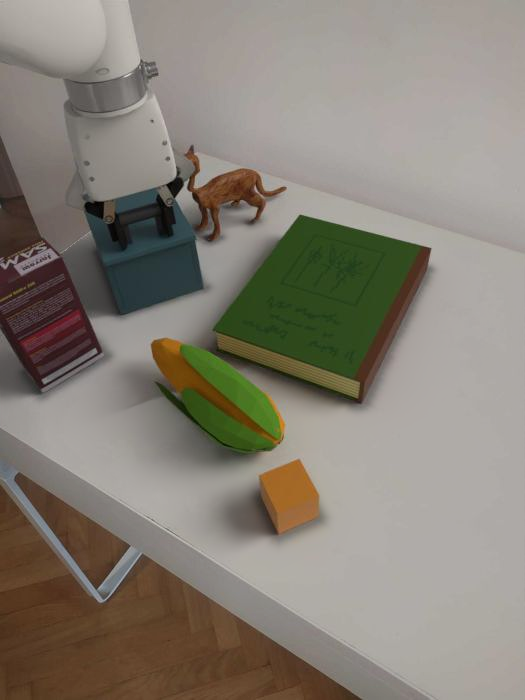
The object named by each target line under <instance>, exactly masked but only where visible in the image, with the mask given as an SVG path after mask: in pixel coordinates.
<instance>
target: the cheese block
mask: <svg viewBox="0 0 525 700" xmlns="http://www.w3.org/2000/svg"><path fill="white" fill-rule="evenodd" d="M258 480H259V488H260V497H261V500H262V502H263V504H264V507H265V509H266V510H267V513H268V515H269V517H270V519H271V521H272V524H273V526H274V528H275V530H276V532H277V534H278V535H280V534H283V533H284V532H287V531H289V530H291V529H294V528H296V527H298V526H301V525H303V524H306V523H308V522H310V521H312V520H314V519H317V518H319V516H320V515H319V513H320V512H319V510H320V493H319V492H318V490H317V489H316V486H315V484H314V483H313V481H312V479H311V478H310V476H309V474H308V472H307V470H306V468H305V466H304V464H303V462H302V461H301V459H300V458H298V459H295V460H292V461H289V462H288V463H285V464H282V465H280V466H277V467H275V468H273V469H270V470H268V471H266V472H263V473H261V474H258Z"/></svg>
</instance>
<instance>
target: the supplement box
mask: <svg viewBox="0 0 525 700" xmlns="http://www.w3.org/2000/svg"><path fill="white" fill-rule="evenodd" d="M0 331H1V333H2V334H3V336H4V337H5V339H6V341H7V343H8V345H9V346H10V348H11V350H12V351H13V353H14V354H15V356H16V358H17V359H18V361H19V363H20V364H21V366H22V368H23V370H24V371H25V372H26V374H27V375H28V376H29V377H30V379H31V380H32V381H33V382H34V384H35V385H36V386H37V388H38V389H39V390H40V393H42V394H44V393H46V392H48V391H49V390H51V389H52V388H54V387H55V386H58V385H59V384H60V383H62V382H64V381H66V380H67V379H69V378H71V377H73V376H74V375H76V374H77V373H79V372H80V371H82V370H84V369H86V368H87V367H89V366H91V365H92V364H94V363H96V362H97V361H99V360H101V359H103V358H104V357H105V353H104V352H103V349H102V346H101V343H100V341H99V339H98V336H97V334H96V331H95V330H94V326H93V325H92V323H91V320H90V318H89V314H88V312H87V310H86V309H85V306H84V304H83V301H82V298H81V297H80V295H79V292H78V290H77V287H76V285H75V283H74V281H73V279H72V276H71V273H70V271H69V269H68V267H67V264H66V262H65V260H64V256H63V255H62V254H61V253H60V252H59V251H58V250H56V249H55V248H54V246H53V245H51V244H50V243H49V241H48V240H46V238H44V236H43V237H40V238H37V239H36V240H34V241H31V242H30V243H27V244H25V245H23V246H21V247H19V248H17V249H15V250H13V251H10V252H9V253H7V254H4V255H2V256H1V257H0Z"/></svg>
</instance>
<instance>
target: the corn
mask: <svg viewBox="0 0 525 700" xmlns="http://www.w3.org/2000/svg"><path fill="white" fill-rule="evenodd" d="M150 349H151V354H152V359H153V361H154V362H155V365H156V366H157V367H158V370H159V371H160V374H161V375H162V376H163V377H164V378H165V379H166V380H167V381H168V383H170V385H171V386H172V387H173V389H175V391H176V392H177V393H178V394H179V395H180V397H181V400H182V401H181V400H180V399H179V398H178V397H177V396H176V395H175V394H174V393H173V392H172V391H171V390H169V388H167V387H166V386H165V385H164V384H162V383H161V382H159V381H156V380H153V382H154V384H155V386H157V388H158V389H159V391H160V392H161V393H162V394H163V396H164V397H165V398H166V399H167V400H168V401H169V402H170V403H171V404H172V405H173V406H174V407H176V408H177V409H178V410H179V411H180V412H181V413H182V414H183V415H184V416H185V417H187V418H188V419H189V421H191V422H192V423H193V424H194V425H195V426H196V427H197V428H198V429H199V430H201V431H202V432H203V433H204V434H205V435H206V436H207V437H208V438H209V439H210V440H212V442H214V443H215V444H218V445H219V446H221V447H223V448H226V449H229V450H232V451H235V452H238V453H240V454H253V453H266V452H272V451H273V450H274V449H275V448H277V446H278V445H280V444H281V443H282V442H283V440H284V438H285V437H284V436H285V435H284V433H285V427H286V423H285V421H284V419H283V417H282V415H281V413H280V411H279V409H278V407H277V405H276V403H275V401H274V399H272V397H271V396H270V394H268V393H267V392H265V391H264V390H262V389H261V388H259V386H258V387H257V386H256V385H255V384H254V383H253V382H251V381H250V380H249V379H248V378H246V376H244V375H243V374H242V373H241V372H239V371H238V370H236V368H234V367H233V366H232V365H231V364H230V363H228V362H227V361H225V360H223V359H221V358H220V357H218V356H217V355H215V354H214V353H212V352H210V351H208V350H206V349H203V348H201V347H198V346H196V345H192V344H187V343H185V342H182V341H179V340H175V339H173V338H169V337H164V338H157V339H154V340H152V342H151V343H150Z"/></svg>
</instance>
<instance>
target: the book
mask: <svg viewBox="0 0 525 700" xmlns="http://www.w3.org/2000/svg"><path fill="white" fill-rule="evenodd" d="M432 249H433V248H432V247H428V246H426V245H421V244H417V243H413V242H409V241H405V240H401V239H397V238H394V237H393V238H392V237H390V236H386V235H383V234H378V233H374V232H370V231H366V230H364V229H363V230H362V229H359V228H355V227H350V226H346V225H343V224H339V223H335V222H331V221H327V220H323V219H319V218H317V217H316V218H315V217H312V216H308V215H304V214H299V215H297V218H296V219H295V220H294V221H293V222H292V224H291V225H290V226H289V228H288V229H287V231H285V233H284V234H283V235H282V237H281V239H280V240H279V241H278V242H277V244H276V245H275V246H274V247H273V249H272V250H271V251H270V252H269V254H268V255H267V257H266V258H265V259H264V261H262V263H261V264H260V265H259V267H258V268H257V269H256V271H255V272H254V273H253V275H252V276H251V277H250V279H249V280H248V281H247V283H246V284H245V285H244V287H243V288H242V289H241V291H239V293H238V294H237V296H236V297H235V298H234V299H233V301H232V302H231V304H230V305H229V306H228V308H227V309H226V310H225V311H224V313H223V314H222V316H221V317H220V318H219V319H218V321H217V322H216V324H215V325H214V326H213V327H212V329H211V330H212V331H213V332H215V337H216V342H217V346H216V348H215V351H217V352H219V353H222V354H225V355H228V356H230V357H233V358H235V359H238V360H241V361H244V362H247V363H249V364H253V365H255V366H258V367H261V368H264V369H265V370H269V371H272V372H275V373H277V374H280V375H283V376H284V377H288V378H291V379H294V380H297V381H299V382H303V383H304V384H306V385H307V384H308V385H309V386H312V387H316V388H318V389H320V390H324V391H327V392H330V393H332V394H334V395H338V396H341V397H343V398H346V399H348V400H351V401H354V402H357V403H360V404H363V403H364V400H365V399H366V397H367V395H368V392H369V390H370V388H371V387H372V384H373V383H374V381H375V378H376V376H377V374H378V373H379V370H380V367H381V366H382V363H383V361H384V360H385V357H386V355H387V353H388V351H389V349H390V347H391V345H392V343H393V341H394V339H395V337H396V335H397V332H398V331H399V328H400V327H401V325H402V322H403V321H404V319H405V317H406V314H407V313H408V310H409V308H410V306H411V304H412V302H413V301H414V298H415V296H416V293H417V292H418V289H419V287H420V285H421V283H422V281H423V280H424V277H425V275H426V273H427V271H428V268H429V262H430V258H431V253H432Z"/></svg>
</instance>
